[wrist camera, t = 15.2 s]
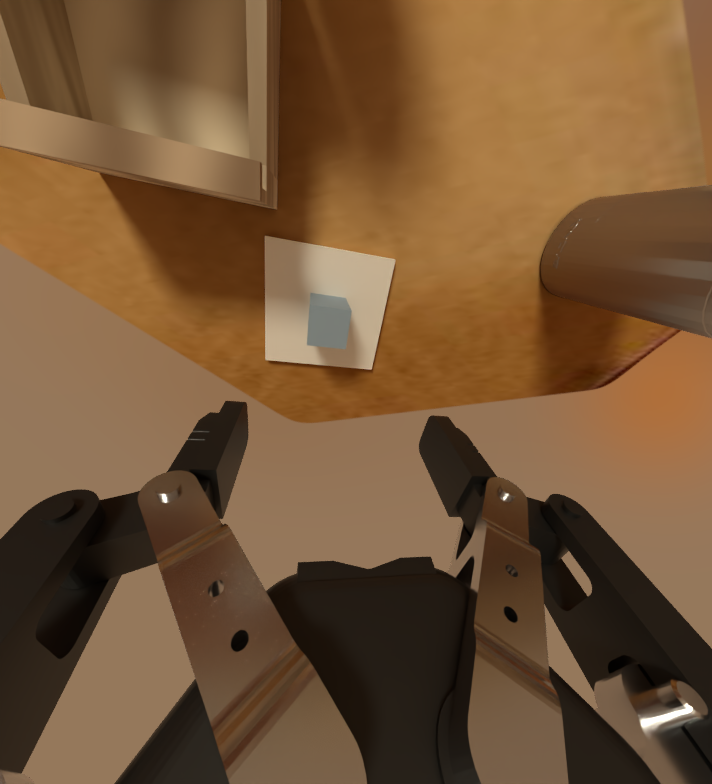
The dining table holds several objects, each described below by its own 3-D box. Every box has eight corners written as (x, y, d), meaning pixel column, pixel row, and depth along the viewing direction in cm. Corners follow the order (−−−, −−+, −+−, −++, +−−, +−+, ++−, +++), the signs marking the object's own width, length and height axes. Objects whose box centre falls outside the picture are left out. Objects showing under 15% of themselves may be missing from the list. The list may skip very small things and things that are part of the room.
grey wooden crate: (282, -74, 16) (255, -328, 8) (277, 209, 23) (260, 200, 15) (8, -189, 13) (-364, -698, 6) (98, 172, 20) (-21, 141, 13)
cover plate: (392, 258, 26) (412, 265, 21) (369, 365, 32) (380, 391, 27) (266, 235, 24) (253, 237, 19) (267, 355, 30) (257, 382, 24)
